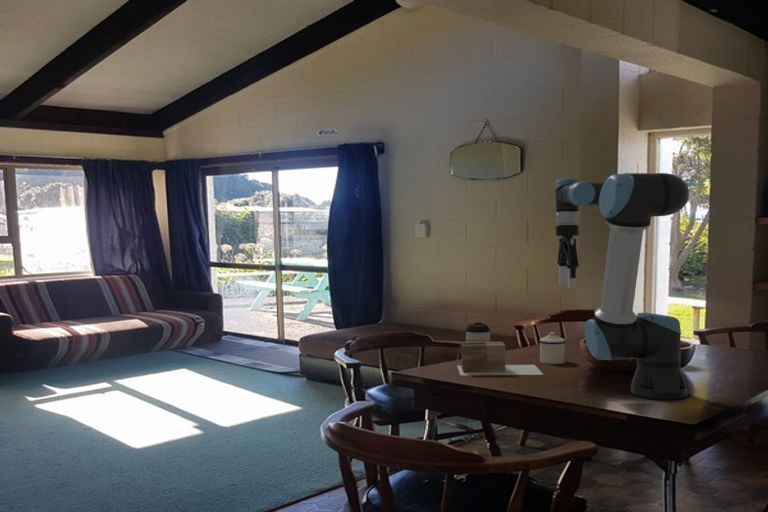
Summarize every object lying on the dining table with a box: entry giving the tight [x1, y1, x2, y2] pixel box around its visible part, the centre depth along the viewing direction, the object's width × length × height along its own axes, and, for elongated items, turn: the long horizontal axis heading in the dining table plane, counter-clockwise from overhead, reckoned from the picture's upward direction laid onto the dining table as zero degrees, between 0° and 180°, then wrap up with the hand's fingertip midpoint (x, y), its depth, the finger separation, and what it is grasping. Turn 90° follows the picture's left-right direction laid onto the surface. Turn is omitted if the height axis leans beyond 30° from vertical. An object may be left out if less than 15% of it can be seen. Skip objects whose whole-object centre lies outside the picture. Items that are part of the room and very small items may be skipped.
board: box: [456, 364, 545, 376], centre depth 228 cm, size 16×27×6 cm, turn 88°
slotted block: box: [460, 341, 506, 372], centre depth 228 cm, size 7×14×9 cm, turn 88°
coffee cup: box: [465, 322, 491, 342], centre depth 242 cm, size 9×9×15 cm
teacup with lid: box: [539, 331, 566, 365], centre depth 242 cm, size 12×9×12 cm
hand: (567, 286), depth 231 cm, fingers open, 13 cm apart
